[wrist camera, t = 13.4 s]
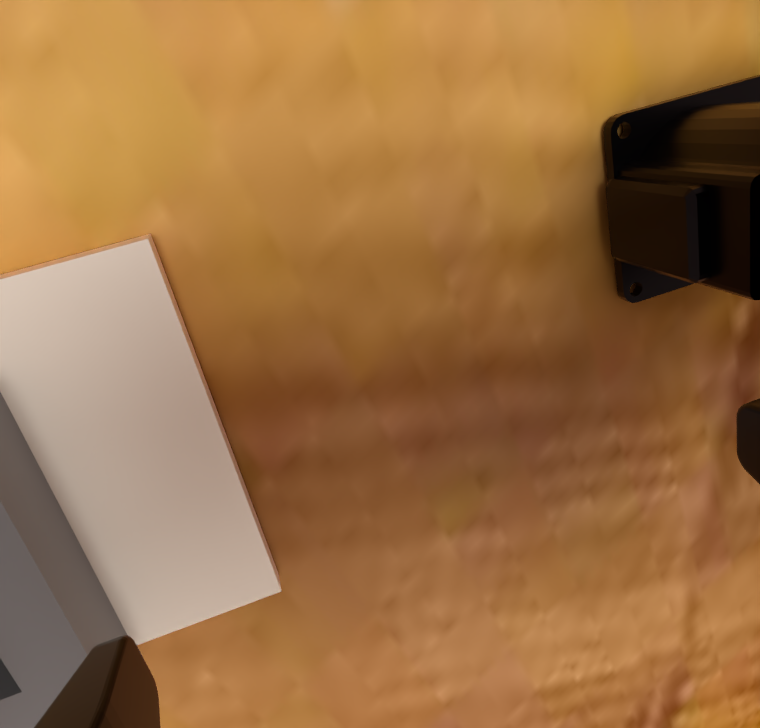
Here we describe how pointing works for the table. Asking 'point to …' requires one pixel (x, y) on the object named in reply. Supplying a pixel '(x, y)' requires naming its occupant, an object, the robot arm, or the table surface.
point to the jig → (109, 473)
